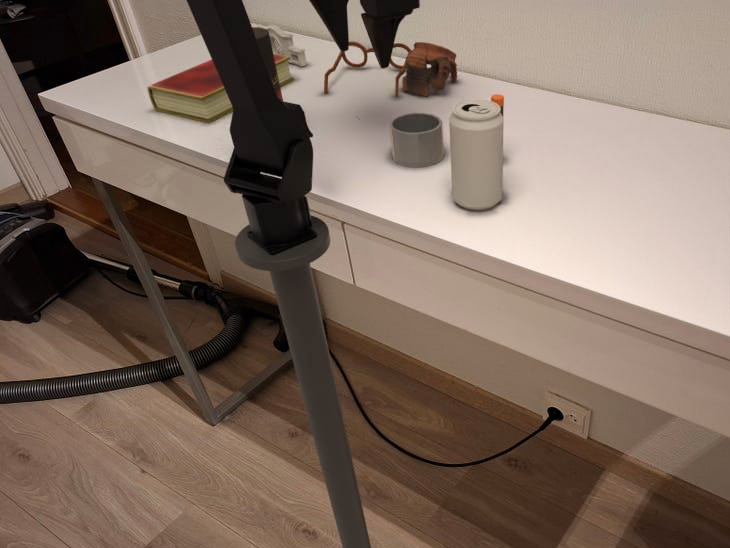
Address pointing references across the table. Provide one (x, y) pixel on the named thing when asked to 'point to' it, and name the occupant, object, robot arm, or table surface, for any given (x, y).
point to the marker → (498, 101)
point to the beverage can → (476, 153)
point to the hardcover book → (201, 91)
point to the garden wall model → (285, 45)
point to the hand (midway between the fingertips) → (364, 58)
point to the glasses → (342, 55)
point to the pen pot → (417, 139)
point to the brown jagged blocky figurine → (423, 76)
